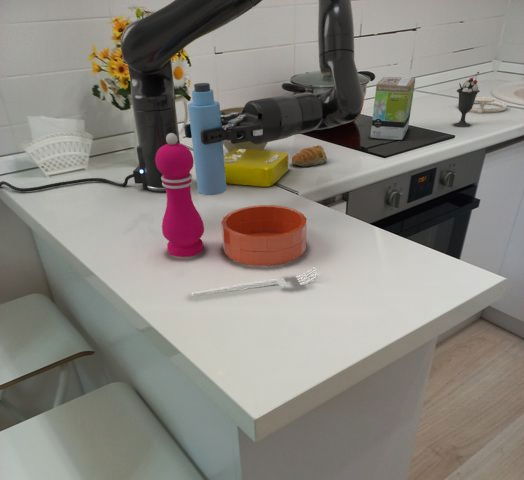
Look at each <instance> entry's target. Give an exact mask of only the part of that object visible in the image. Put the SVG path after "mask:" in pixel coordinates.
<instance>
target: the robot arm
mask: <svg viewBox="0 0 524 480" xmlns="http://www.w3.org/2000/svg"><path fill="white" fill-rule="evenodd" d="M261 2H263V0H173V1H171V2H170V3H169V4H167V5H165V6H164V7H162V8H160V9H158V10H157V11H154V12H153V13H150V14H148V15H147V16H145V17H142V18H140V19H136V20H134V21H132V22H130V23H129V24H128V25H127V26H126V27H125V28H124V30H123V32H122V35H121V38H120V52H121V56H122V59H123V60H124V62H125V64H126V65H127V69H128V74H129V80H130V99H131V105H132V106H131V107H132V111H133V117H134V123H135V129H136V134H137V135H136V136H137V141H138V145H137V146H136V155H137V160H138V165H137V167H135V168H134V170H132V173H131V174H129V175H127V176H126V177H125V178H124V182H123V183H117V182H115V181H112V180H110V179H107V178H103V177H89V178H87V177H86V178H78V179H73V180H66V181H60V182H54V183H49V184H44V185H39V186H34V187H17V186H14V185H13V184H11V183H9V182H7V181H4V180H2V181H0V188H1V187H2V186H7V187H8V188H10V189H12V190H13V191H17V192H22V193H23V192H25V193H26V192H34V191H40V190H46V189H50V188H55V187H60V186H67V185H74V184H79V183H80V184H81V183H88V182H89V183H90V182H103V183H107V184H110V185H112V186H116V187H122V188H124V187H126V186H127V185H128V184H129V182H128V181H129V180H130V179H132V178H133V180H134V184H138V185H139V184H142V189H143V190H147V191H151V192H157V193H164V192H166V189H165V187H164V186H163V185H162V180H161V177H162V175H163V174H162V173H161V172H160V171H159V170H158V168H157V166H156V153H157V151H158V150H159V149H160V148H161V147H162V146H164V145H166V144H168V143H167V141H166V137H167V135H168V134H170V133H173V134H175V135H176V136H177V139H178V141H177V143H179V144H181V139H180V132H179V124H178V123H179V121H178V115H177V107H176V98H175V82H174V74H173V65H172V59H173V58H174V57H175V56H176V55H178V54H179V53H180V52H182V50H184V49H185V48H186V47H187V46H189V45H190V44H191V43H193V42H195V41H196V40H198V39H199V38H202V37H204V36H206V35H208V34H210V33H212V32H215V31H216V30H218V29H220V28H222V27H225V26H226V25H228V24H229V23H231V22H233V21H235V20H237V19H238V18H240V17H241V16H243V15H244V14H245V13H247V12H248V11H250V10H251V9H253V8H255V7H256V6H257V5H259V4H260V3H261ZM353 16H354V15H353V8H352V0H318V15H317V40H318V41H317V42H318V43H317V44H318V66H319V71H320V73H321V74H322V75H323V76H326V77H330V78H331V79H332V83H333V87H332V88H329V89H327V90H324V91H321V92H318V93H311V92H303V93H296V94H291V95H275V96H270V97H264V98H259V99H253V100H249V101H247V102H246V103H245V105H244V106H243V107H244V108H243V111H242V113H241V115H239V113H238V112H235V113H230V114H229V115H226V113H224V112H221V113H220V116H221V128H222V130H221V128H220V127H218V128H212V129H207V130H202V131H201V142H202V144H205V145H207V144H212V143H217V142H221V141H222V140H223V142H225V143H227V142H229V141H231V143H232V144H236V143H242V142H249V141H250V142H252V143H253V144H262V143H266V142H268V143H271V142H275V141H280V140H284V139H288V138H290V137H293V136H295V135H300V134H305V133H309V132H312V131H318V130H320V131H321V130H325V129H331V128H334V127H338V126H341V125H345V124H348V123H351V122H353V121H356V119H358V118H359V116H361V112H362V110H363V107H364V91H363V88H362V84H361V80H360V77H359V72H358V69H357V66H356V62H355V27H354V17H353ZM183 126H184V127H183V128H184V136H185V137H186V138H187V139H192V135H191V127H190V123H186V124H185V125H183Z"/></svg>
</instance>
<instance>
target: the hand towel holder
mask: <svg viewBox="0 0 524 480" xmlns="http://www.w3.org/2000/svg"><path fill="white" fill-rule="evenodd" d="M474 104H476V105H479V106H478V107H472V109H471V110H470V111H469V112H473V113H478V114H483V113H499V112H504V111H506V110H507V109H508V105H507V104H506V103H503V102H500V101H497V99H496V98H495V97H492V96H476V98H475V101H474ZM474 104H473V105H474ZM485 105H492V106H497V108H485Z"/></svg>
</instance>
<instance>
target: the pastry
mask: <svg viewBox="0 0 524 480" xmlns="http://www.w3.org/2000/svg"><path fill="white" fill-rule="evenodd" d="M327 160H328V156H327V153H326V151H325V149H324V147H323V146H321V145H319V144H318V145H313V146H309V147H305V148H302V149H301V150H300V151H299V152H296V153H295V154H294V155H293V156H291V165H295V166H299V167H304V168H305V167H311V166H317V165H319V164H320V165H322V164H324V163H326V161H327Z"/></svg>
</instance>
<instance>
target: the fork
mask: <svg viewBox="0 0 524 480" xmlns="http://www.w3.org/2000/svg"><path fill="white" fill-rule="evenodd" d="M320 275H321V273H320V272H319V270H318V268H317V267H316V266H314V267H312V268H311V269H309V270H307V271H305V272H303V273H300V274H298V275H295V278H296V280H297V282H298V283H299V285H302V286H303V285H307V284H310V283H311V282H312V281H314V280H315V279H316V278H317V277H318V276H320ZM277 285H278V286H280V287H281V286H282V287H288V283H287V281H286V280H285V278H284V277H275V278H269V279H262V280H256V281H251V282H250V281H249V282H244V283H240V284H233V285H227V286H220V287H214V288H207V289H202V290H196V291H192V293H191V296H192V297H196V296H203V295H211V294H219V293H227V292H234V291H241V290H242V291H243V290H248V289H249V290H250V289H257V288H263V287H268V286H277Z"/></svg>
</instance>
